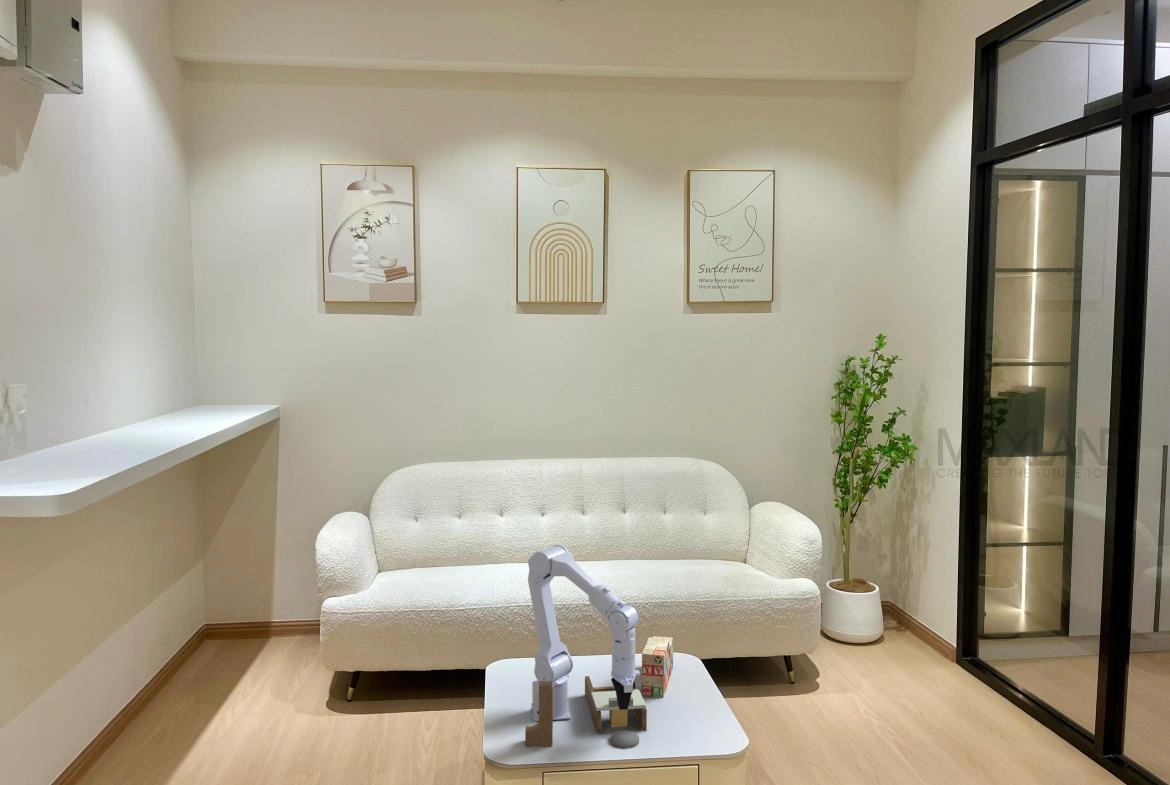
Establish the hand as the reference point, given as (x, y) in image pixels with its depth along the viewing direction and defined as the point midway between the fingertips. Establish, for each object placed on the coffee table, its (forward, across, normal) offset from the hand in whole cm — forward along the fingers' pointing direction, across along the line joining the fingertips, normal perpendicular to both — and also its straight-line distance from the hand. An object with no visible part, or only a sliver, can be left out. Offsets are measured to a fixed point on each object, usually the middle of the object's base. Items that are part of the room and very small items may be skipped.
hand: (623, 708), depth 199 cm
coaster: (+7, -2, 0) cm, 8 cm away
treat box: (+7, +13, 0) cm, 15 cm away
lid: (+2, +7, 0) cm, 7 cm away
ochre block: (+7, +7, 0) cm, 10 cm away
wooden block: (+7, -1, +21) cm, 22 cm away
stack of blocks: (+8, +31, -16) cm, 35 cm away
